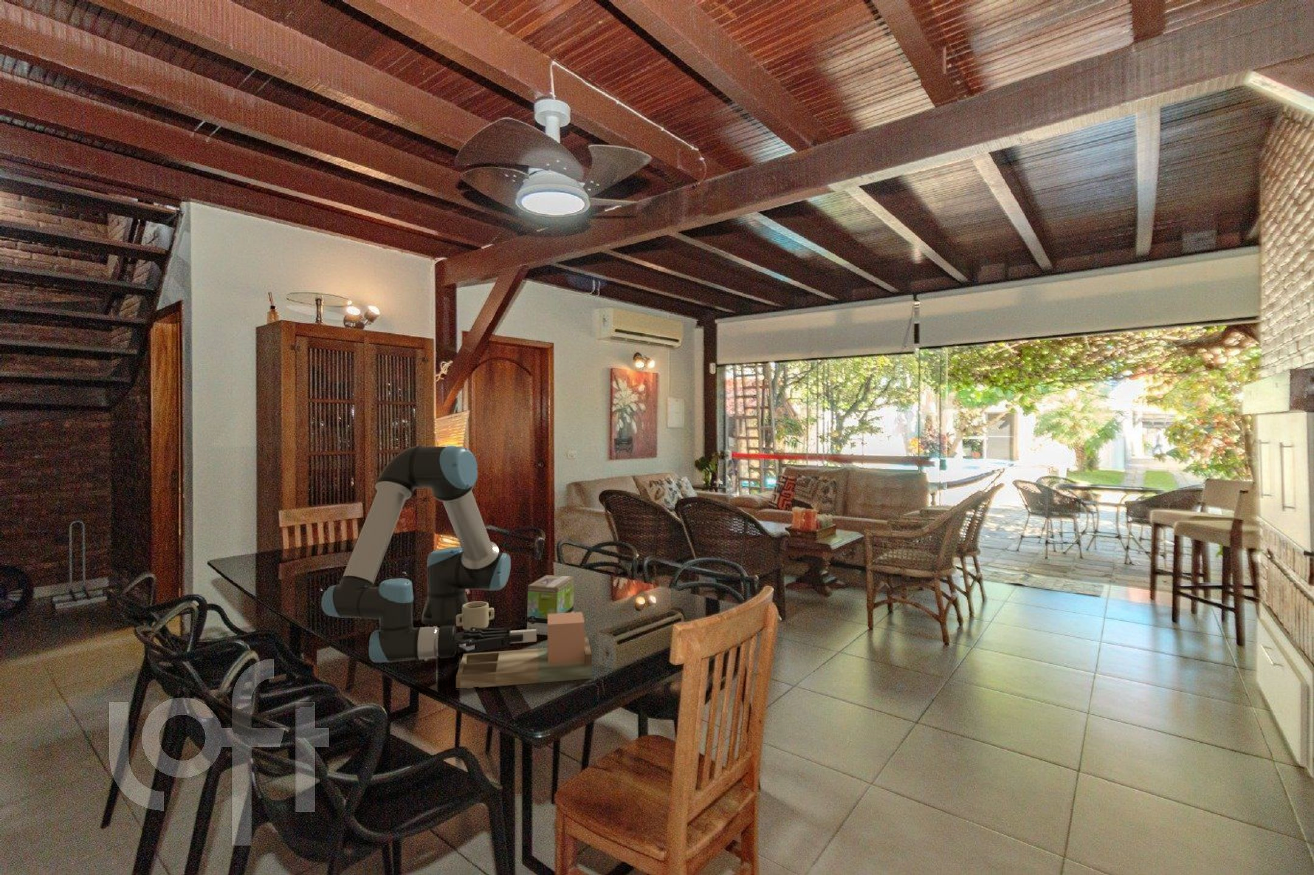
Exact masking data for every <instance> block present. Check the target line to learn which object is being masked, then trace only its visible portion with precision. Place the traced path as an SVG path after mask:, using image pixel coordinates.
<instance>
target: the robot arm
mask: <svg viewBox="0 0 1314 875" xmlns="http://www.w3.org/2000/svg"><path fill="white" fill-rule="evenodd" d="M477 469H478V462H477V460H476V457H475V455H474V454H473V452H472V451H471V450H469V449H468V448H467V447H463V446H456V445H448V446H432V445H431V446H425V445H424V446H423V445H417V446H410V447H408V448H405V449H403V450H401V451H400V452H399V453H397V454H396V455H395V456H394V457H393V458H392V459H390V461H389V462H388V463H386V465H385V466H384V468H383V470H382V471H381V472H380V475H379V476H378V479H377V480H376V484H375V486H374V488H375V489H376V494H375V496H374V498H373V501H372V504H371V506H370V508H369V511H368V514H367V516H366V519H365V521H364V524H363V526H362V528H361V531H360V533H359V536H358V538H357V541H356V542H355V545H354V547H353V550H352V553H351V555H350V557H349V560H348V562H347V564H346V568H345V570H344V572H343V575H342V577H341V579H340V580H339V581H340V582H339V584H335V585H330V586H328V588H327V590H325V591H324V593H323V595H322V597H321V602H320V603H321V609H322V611H323V613H325V615H327V616H328V617H329V616H330V617H335V618H341V619H345V618H346V619H347V618H348V619H349V618H350V619H352V618H353V619H365V620H367V619H370V620H379V623H378V625H379V629H375V630H374V631H372V632H371V635H370V638H369V642H368V643H369V645H368V656H369V659H370V660H371V661H372V662H373V663H388V664H389V663H397V662H406V661H419V660H424V661H425V662H427V661H429V660H431V659H437V657H438V658H440V659H447V658H448V659H449V658H454V657H455V656H456V654H457V651H463V652H465V654H471V653H473V652H477V651H483V650H484V651H489V650H495V649H502V648H507V649H508V648H510V647H511V646H510V645H511V644H518V643H519V644H521V643H534V642H537V640H538V639H537V638H538V637H537V634H536V629H529V630H527V629H519V630H511V627H509V626H507V627H487V628H476V627H471V628H470V630H465V629H464V630H463V631H459V632H458V631H457V626H456V615H458V614H462V606H463V604H465V603H469V601H468V598H467V595H466V594H467V592H466V590H474V591H475V590H477V591H488V592H489V591H491V592H492V591H499V590H502V589H503V588H504V587H505V586H506V585H507V582H508V580H509V577H510V572H511V566H512V564H511V556H510V555H509V553H506V552H500V549H499V547H498V545H497V544H496V543H495V542H493V541H491V540H490V537H489V536H490V535H489V534H488V532H487V528H486V525H485V524H484V520H483V517H482V514H481V512H480V509H479V507H478V504H477V502H476V498H475V496H474V493H473V489H474V487H475V485H476V484H475V483H476V482H477V480H478V473H479V471H478V470H477ZM418 488H419V489H420V488H421V489H422V488H423V489H424V488H425V489H427V488H428V489H430V491H431V492H432V495H433V497H434V499H436V500H438V501H439V502H442V504H443V507H444V508H445V511H446V513H447V516H448V520H449V521H450V523H451V525H452V528H453V531H454V533H455V536H456V538H457V540H458V541H457V542H459V543H458V544H459V545H460V546H450V547H446V548H445V547H444V548H440V549H436V550H432V551H431V552H430V553H429V554H428V556H427V560H426V562H427V563H426V568H427V569H426V570H427V571H426V574H427V577H426V579H427V583H426V584H427V585H426V586H427V599H426V601H425V604H424V608H423V610H422V615H421V624H422V623H423V624H425V625H424V627H423V626H421V627H414V591H413V589H414V588H413V582H412V581H411V580H410V579H408V578H401V577H399V578H398V577H397V578H390V579H386V580H383V581H381V582H380V584H379V586H374V583H375V581H376V578H377V575H378V574H379V571H380V568H381V565H382V563H383V560H384V557H385V555H386V554H387V553H386V552H387V549H388V547H389V545H390V542H391V539H392V537H393V535H394V531H395V528H396V527H397V524H398V521H399V519H400V518H399V517H400V515H401V513H402V510H403V508H404V505H405V502H406V500H408V499H409V500H410V498H411V497H412V495H413V492H414V491H415V490H416V489H418ZM460 622H462V617H460ZM423 624H422V625H423ZM426 625H429V626H426ZM430 626H433V627H430ZM437 626H440V627H437ZM484 651H483V652H484Z"/></svg>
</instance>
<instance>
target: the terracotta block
mask: <svg viewBox="0 0 1314 875" xmlns="http://www.w3.org/2000/svg"><path fill="white" fill-rule="evenodd" d="M585 629H586V628H585V618H584V615H583V612H582V611H578V612H575V611H574V612H573V613H556V614H548V635H547V648H548V665H553V664H566V663H580V662H585V634H586V632H585Z"/></svg>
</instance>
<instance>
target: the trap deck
mask: <svg viewBox="0 0 1314 875" xmlns="http://www.w3.org/2000/svg"><path fill="white" fill-rule="evenodd" d="M592 655H593V654H592V651H591V646H590V642H589V637H588V634H586V633H585V662H580V663H566V664H553V665H548V647H546V648H544V647H543V648H531V649H530V648H529V649H528V648H527V649H517V650H504V651H503V650H502V651H501V650H500V651H488V652H487V651H485V652H479V653H469V654H466V653H463V655H462V658H461V661H460V664H459V667H458V670H457V673H456V675H455V689H456V688H467V689H473V688H472V687H479V688H491V687H502V686H503V687H504V686H514V685H516V686H517V685H528V684H538V683H539V684H540V683H552V682H564V681H565V682H566V681H575V680H578V681H579V680H589V679H592V678H593V670H592V668H593V664H592V663H593V660H592V658H593V657H592ZM469 687H470V688H469Z"/></svg>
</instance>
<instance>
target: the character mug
mask: <svg viewBox="0 0 1314 875" xmlns="http://www.w3.org/2000/svg"><path fill="white" fill-rule="evenodd" d="M489 613H490V615H489ZM460 617H462V622H460ZM494 619H495V608H494V607H490V606H489V602H487V601H481V600H480V601H478V600H477V601H476V600H475V601H470V602H469V601H468V603H465V604H463V606H462V614H458V615H456V625H455V626H456V627H462V628H463V630H464V631H465V630H470V628H471V627H476V628H489V627H488V626H489V624H490V622H489V621H491V620H494ZM484 651H485V650H483V651H477V652H473V653H484Z"/></svg>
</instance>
